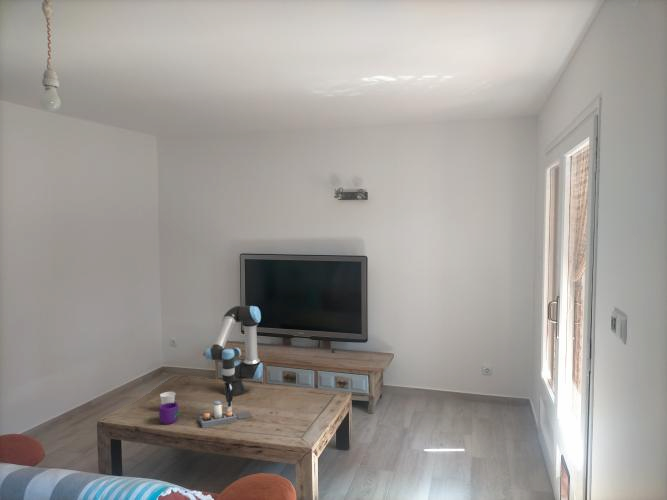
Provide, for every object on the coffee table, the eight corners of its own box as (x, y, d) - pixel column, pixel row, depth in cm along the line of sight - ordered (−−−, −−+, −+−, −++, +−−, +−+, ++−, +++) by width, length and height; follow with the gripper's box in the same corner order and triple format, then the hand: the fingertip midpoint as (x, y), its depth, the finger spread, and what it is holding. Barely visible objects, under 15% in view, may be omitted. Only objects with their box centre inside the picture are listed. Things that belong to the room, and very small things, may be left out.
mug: (173, 425, 296) (172, 409, 296) (155, 424, 298) (155, 408, 298) (186, 414, 314) (185, 399, 313) (169, 413, 315) (169, 398, 315)
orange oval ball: (231, 415, 307) (231, 410, 307) (232, 417, 304) (232, 412, 304) (225, 416, 305) (225, 411, 305) (227, 418, 302) (227, 413, 302)
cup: (170, 413, 315) (170, 397, 315) (157, 412, 317) (156, 396, 317) (178, 408, 325) (178, 392, 325) (165, 407, 327) (165, 391, 327)
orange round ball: (209, 416, 301) (209, 412, 301) (210, 418, 298) (210, 414, 298) (203, 417, 299) (203, 413, 299) (204, 419, 296) (204, 415, 296)
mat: (248, 412, 317) (248, 411, 317) (252, 417, 309) (252, 416, 309) (235, 414, 313) (235, 414, 313) (238, 419, 305) (238, 418, 305)
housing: (232, 415, 311) (232, 411, 311) (236, 421, 301) (236, 417, 301) (199, 421, 302) (199, 416, 302) (202, 427, 292) (202, 423, 292)
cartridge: (221, 418, 305) (221, 399, 305) (223, 421, 300) (222, 401, 300) (213, 420, 303) (212, 400, 302) (214, 423, 298) (214, 403, 298)
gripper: (220, 372, 308) (221, 408, 309) (224, 378, 296) (225, 415, 297) (231, 370, 311) (232, 406, 312) (237, 376, 299) (237, 413, 300)
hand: (229, 410), depth 305 cm, fingers closed
